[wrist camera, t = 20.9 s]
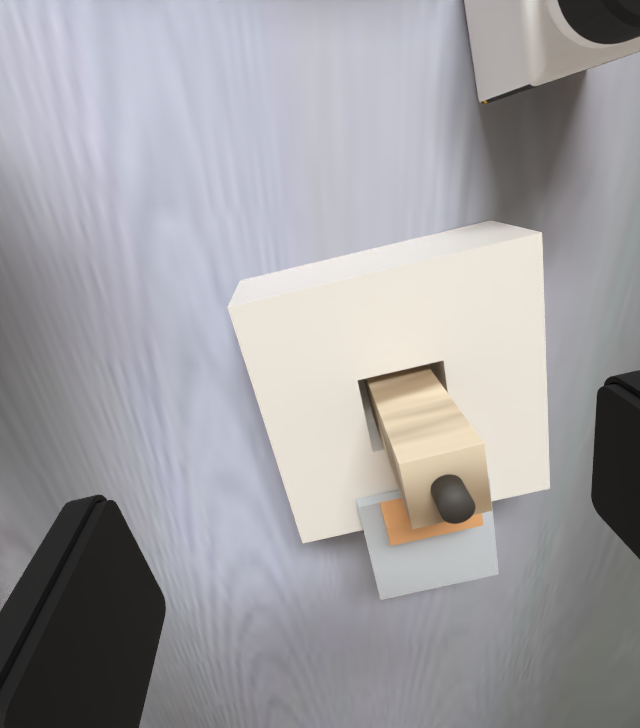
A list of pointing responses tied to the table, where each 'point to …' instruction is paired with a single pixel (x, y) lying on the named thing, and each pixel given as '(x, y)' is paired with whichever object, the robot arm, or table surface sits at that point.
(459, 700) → the table surface
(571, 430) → the table surface
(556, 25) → the medicine bottle
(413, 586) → the grey tile with orange
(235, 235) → the table surface
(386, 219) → the table surface
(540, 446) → the socket
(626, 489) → the robot arm
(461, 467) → the plug
